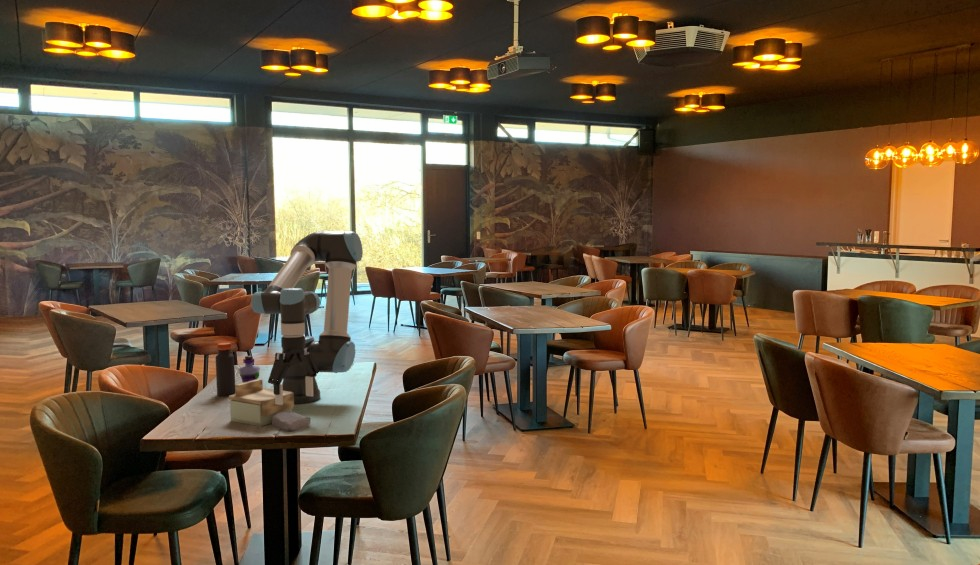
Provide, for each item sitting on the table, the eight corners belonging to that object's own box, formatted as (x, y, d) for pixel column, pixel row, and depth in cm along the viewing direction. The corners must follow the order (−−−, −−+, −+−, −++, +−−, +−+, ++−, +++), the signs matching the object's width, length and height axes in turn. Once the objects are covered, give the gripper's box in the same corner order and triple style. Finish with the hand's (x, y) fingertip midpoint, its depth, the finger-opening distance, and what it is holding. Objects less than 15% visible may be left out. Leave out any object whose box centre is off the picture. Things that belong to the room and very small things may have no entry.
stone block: (295, 425, 242) (268, 425, 234) (297, 411, 242) (270, 410, 235) (314, 433, 233) (287, 434, 226) (316, 418, 234) (289, 418, 226)
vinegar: (218, 393, 280) (215, 342, 279) (236, 391, 282) (234, 341, 280) (216, 397, 274) (213, 345, 272) (234, 395, 275) (232, 344, 274)
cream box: (263, 411, 252) (262, 391, 252) (291, 416, 246) (291, 396, 245) (230, 420, 240) (230, 400, 240) (260, 426, 233) (259, 405, 233)
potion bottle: (258, 386, 291) (257, 357, 290) (236, 387, 289) (235, 358, 288) (262, 382, 299) (261, 353, 298) (240, 382, 298) (239, 354, 297)
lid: (261, 401, 252) (260, 377, 252) (295, 406, 244) (294, 382, 244) (229, 410, 240) (228, 385, 240) (263, 416, 232) (262, 390, 232)
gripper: (311, 330, 245) (313, 391, 247) (255, 339, 224) (257, 406, 225) (328, 331, 241) (329, 393, 243) (272, 341, 220) (274, 409, 221)
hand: (294, 400), depth 234 cm, fingers open, 13 cm apart
